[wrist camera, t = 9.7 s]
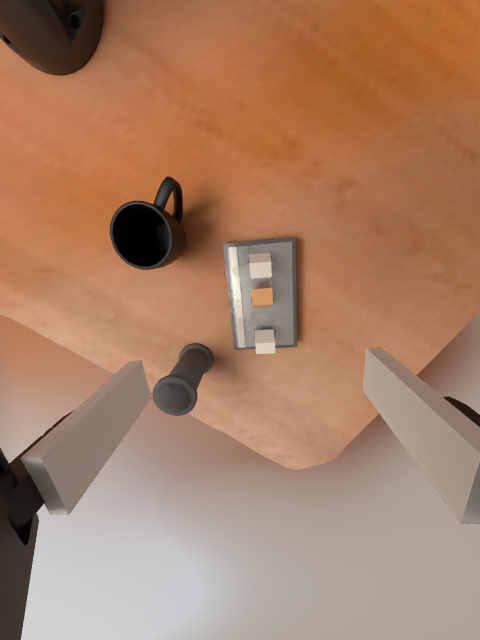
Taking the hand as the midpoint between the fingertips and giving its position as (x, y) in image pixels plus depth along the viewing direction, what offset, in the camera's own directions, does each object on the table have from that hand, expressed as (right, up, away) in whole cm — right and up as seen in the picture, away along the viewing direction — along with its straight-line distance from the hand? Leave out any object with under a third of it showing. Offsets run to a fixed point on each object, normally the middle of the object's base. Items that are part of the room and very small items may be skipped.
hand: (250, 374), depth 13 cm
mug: (-11, +18, +23) cm, 32 cm away
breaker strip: (+3, +7, +25) cm, 27 cm away
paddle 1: (+2, +12, +20) cm, 24 cm away
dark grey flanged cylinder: (-9, -4, +30) cm, 32 cm away
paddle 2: (+4, +1, +24) cm, 24 cm away
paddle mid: (+3, +6, +22) cm, 23 cm away
